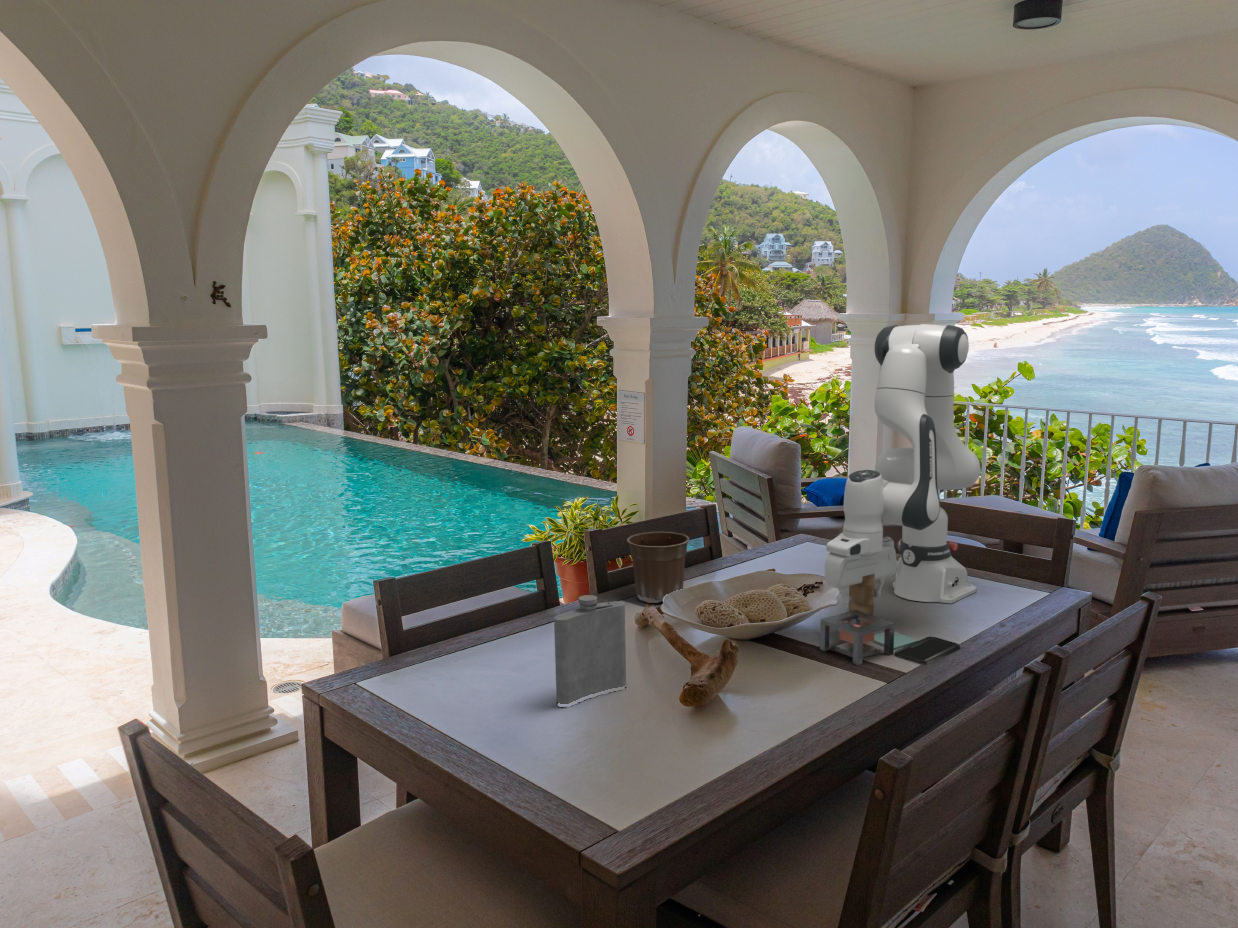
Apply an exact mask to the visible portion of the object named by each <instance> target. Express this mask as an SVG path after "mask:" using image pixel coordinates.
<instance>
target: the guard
mask: <svg viewBox="0 0 1238 928" xmlns="http://www.w3.org/2000/svg"><path fill="white" fill-rule="evenodd" d="M850 620H851V625H850V624H848V621H850ZM860 620H862V621H864V622H867V623H870V624H868V625H864V626H861V627H856V626H853V625H855V624H857V625H860ZM819 625H820V628H819V629H820V633H819V636H820V638H819V650H820V651H823V652H827V651H830V635H831V633H830V630H831V628H834V629H836V630H839V631H840V630H841V631H844V632H846V633H849V634H852V635H853V644H852V643H850V642H847V641H846V642H844V643H841V644H838V645H835V646H834V652H835V651H836V652H839V653H841V654H843V655H846V656H847V657H851V658H852V664H854V665H855V666H856V665H857V666H860V665H862V664H863V658H867V657H870V656H872V655H877V654H879V648H877V647H875V646H872V645H870V644H867V643H864V644H863V636H864V635H868V634H871V633H874V634H875V633H877V632H881V631H884V632H885V635H884V646H883V654H884V655H887V656H891V655H894V653H895V650H894V632H895V622H892V621H889V620H886V619H884V618H881V617H878V616H876V615H875V616H872V615H870V614H867V613H864V612H861V611H858V610H853V611H849V612H848V611H846V612H842V613H837V614H834V615H831V616H828V617H823V618H820V623H819ZM830 627H831V628H830Z"/></svg>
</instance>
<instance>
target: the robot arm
mask: <svg viewBox="0 0 1238 928" xmlns="http://www.w3.org/2000/svg"><path fill="white" fill-rule="evenodd" d="M969 346H970V345H969V336H968V334H967V332H966V331H965V329H963V328H962V327H959V326H956V325H951V324H948V325H941V324H930V323H921V324H908V325H907V324H906V325H899V326H898V324H895V325H890V326H886V327H884V328H882V329H881V330H880V331H879V332H878V333H877V335H876V337H875V342H874V355H875V359H876V361H877V362H878V364H879V366H881V367H880V372H879V375H878V379H877V383H876V391H875V396H874V412H875V415H876V417H877V418H878V420H879V421H880V422H881V423H882V424H883V425H884V426H885V427H887V428H888V429H889V430H893V431H894V432H895V433H897V434H900V435H902V436H903V437H904V438H906V439H907V440H908V441H909V443H910V444H911V446H912V447H898V448H891V449H888V450H883V451H882V452H881V453H880V454H879V456H878V457H877V459H876V461H875V465H874V470H872V469H861V470H856V471H854V472H851V473H850V474H849V475H848V476H847V479H846V482H845V486H844V494H843V513H844V523H843V524H844V526H843V533H841V534H840V535H838V534H837V536H836V537H835V538H834V537H833V539H831V540H830V541H828V542H827V543H826V551H827V552H828V554H827V556H826V558H825V559H826V560H825V564H824V565H825V567H824V568H825V569H824V578H825V579H824V580H825V582H826V584H827V586H828V587H830V588H831V587H832V588H835V589H838V591H839V594H840V595H841V602H842V604H844V605H849V604H850V603H852V596H849V586H850V585H855V584H859V583H862V577H863V576H867V575H871V574H875V583H874V598H878V597H880V596H881V592H882V591H881V589H882V588H883V586H884V584H885V578H888V577H893V576H895V581H893V582H892V587H893V593H894V595H896V596H898V597H899V598H902V599H905V600H908V601H909V600H910V601H915V602H916V601H917V602H924V603H942V604H955V603H956V602H958V601H960V600H962V599H964V598H966V597H969V596H970V595H972V594H974V593H977V591H978V587H977V586H975V585H973V584H971V583H969V582H968V571H967V569H966V567H965V566H964V565H963V564H961V563H960V562H958V561H957V560H956V559H955V558H953V556H952V553H951V550H952V551H955V552H956V551H957V550H958V547H959V545H958V543H957V542H952V541H949V542H948V525H949V523H948V522H949V521H948V520H949V517H948V513H947V512H946V511H945V509H944V508H943V507H941V502H940V495H939V491H955V490H956V491H957V490H962V489H966V488H972V487H973V486H974V485H975V484H976V483H977V481H978V480H979V478H980V474H981V462H980V461H979V458H978V456H977V455H976V453H975V452H974V451H972V450H971V449H970V448H969V447H967V446H966V445H965V444H964V442H963V441H962V440H961V438H960V437H959V435H958V433H957V431H956V427H955V419H954V416H955V415H954V411H955V410H954V408H955V407H954V404H955V403H954V401H955V374H954V371H955V370H957V369H959V368H960V367H962V365H963V364H964V363H965V362H966V359H967V357H968V354H969V349H970V348H969ZM882 522H883V523H886V524H892V525H898V526H902V527H901V528H902V530H901V531H902V532H901V536H902V537H901V538H902V539H901V540H900V543H899V554H900V555H901V556H899V558H898V560H897V552H896V548H895V541H894V540H893V539H892V538H891V537H890V536H884V527H883V524H882Z"/></svg>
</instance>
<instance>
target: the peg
mask: <svg viewBox="0 0 1238 928" xmlns="http://www.w3.org/2000/svg"><path fill="white" fill-rule="evenodd" d="M874 583H875V574H871V575H867V576H863V577H862V583H859V584H855V585H850V586H849V590H848V594H849V596H852V603H850V604H848V609H847V610H848V611H847V612H849V611H853V610H858V611H861V612H864V613H867V614H870V615H872V616H874V614H875V613H874V612H875V610H874V609H875V605H874V604H875V597H874ZM847 623H848V624H850V625H851V620H850V621H847ZM868 624H870V623H867V622H864V621H862V620H860V626H864V625H868Z"/></svg>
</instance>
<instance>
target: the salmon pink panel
mask: <svg viewBox="0 0 1238 928" xmlns="http://www.w3.org/2000/svg"><path fill="white" fill-rule="evenodd" d="M853 626H856V627H861V626H860V625H857V624H855V625H853ZM874 635H875V632H874V633H871V634H868V635H864V636H863V644H864V643H865V644H867V643H870V642H871V643H872V641H874ZM839 640H842V641H845V642H846V643H847V642H850V643H852V644H853V635H852V634H849V633H846V632H844V631H841V630H839Z"/></svg>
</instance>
